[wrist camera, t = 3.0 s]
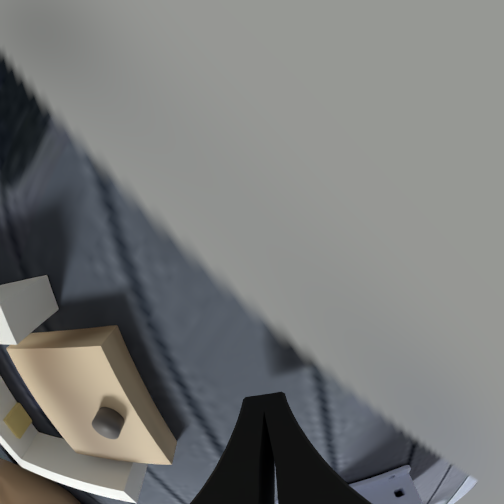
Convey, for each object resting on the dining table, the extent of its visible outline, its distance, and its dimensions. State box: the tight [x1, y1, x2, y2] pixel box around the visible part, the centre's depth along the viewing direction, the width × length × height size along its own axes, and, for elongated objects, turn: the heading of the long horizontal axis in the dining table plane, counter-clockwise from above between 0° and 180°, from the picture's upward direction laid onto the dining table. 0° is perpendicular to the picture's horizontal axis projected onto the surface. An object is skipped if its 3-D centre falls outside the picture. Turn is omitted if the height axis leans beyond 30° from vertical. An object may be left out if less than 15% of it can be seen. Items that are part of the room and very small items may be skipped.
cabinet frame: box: [0, 275, 147, 503], centre depth 9 cm, size 10×12×3 cm
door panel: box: [6, 325, 177, 465], centre depth 10 cm, size 6×7×3 cm
